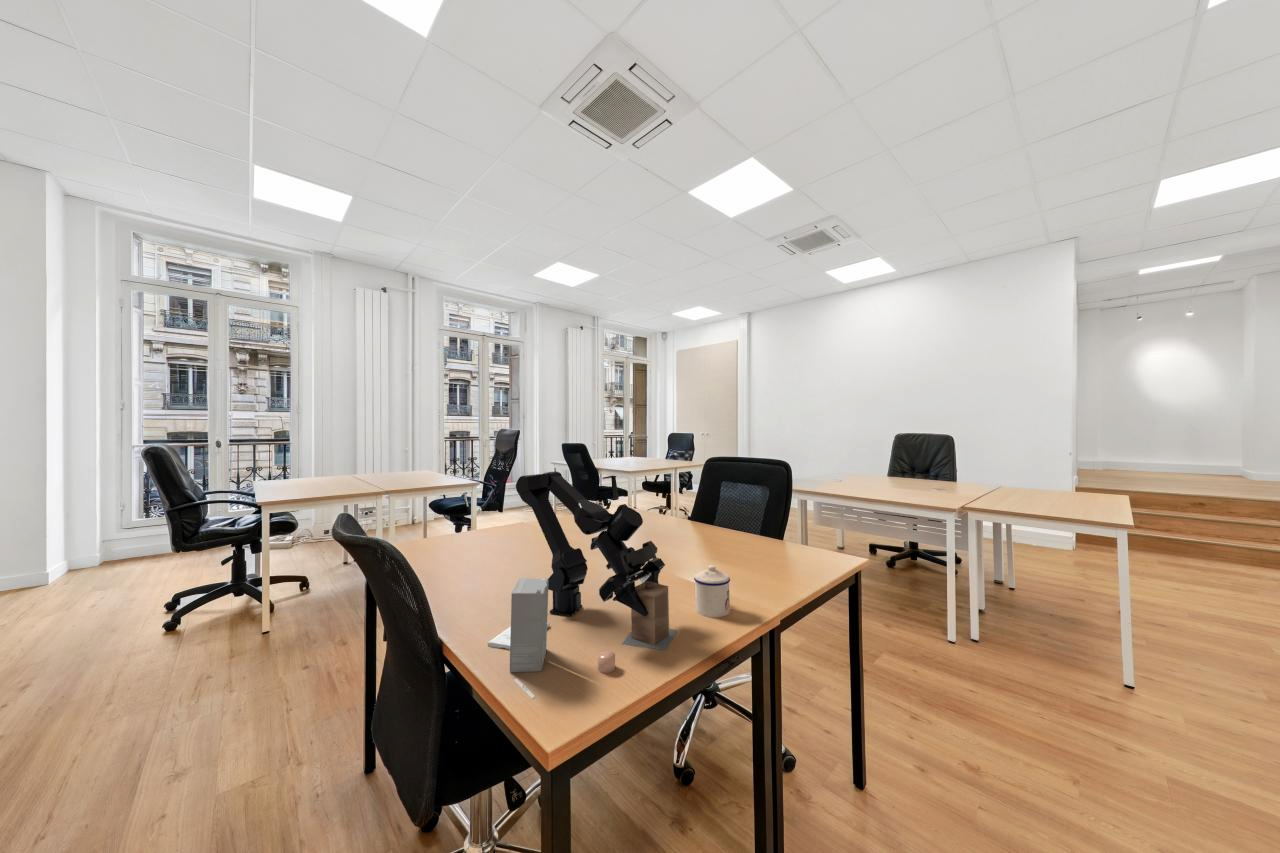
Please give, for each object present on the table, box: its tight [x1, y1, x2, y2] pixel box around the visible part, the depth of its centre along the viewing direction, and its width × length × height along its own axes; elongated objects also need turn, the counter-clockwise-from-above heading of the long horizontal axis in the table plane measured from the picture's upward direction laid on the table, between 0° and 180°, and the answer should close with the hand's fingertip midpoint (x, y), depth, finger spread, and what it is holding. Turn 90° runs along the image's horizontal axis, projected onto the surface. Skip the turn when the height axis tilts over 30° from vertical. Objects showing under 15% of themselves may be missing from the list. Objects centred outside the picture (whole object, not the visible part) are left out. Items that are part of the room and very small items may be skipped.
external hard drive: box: [487, 621, 551, 651], centre depth 100 cm, size 2×8×12 cm
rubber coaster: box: [621, 628, 679, 652], centre depth 97 cm, size 10×10×1 cm
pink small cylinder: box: [597, 650, 616, 674], centre depth 84 cm, size 3×3×3 cm
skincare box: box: [509, 577, 549, 673], centre depth 88 cm, size 8×7×16 cm
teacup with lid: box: [693, 564, 731, 619], centre depth 112 cm, size 12×9×12 cm
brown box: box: [630, 581, 670, 646], centre depth 97 cm, size 6×6×12 cm
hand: (655, 610), depth 96 cm, fingers closed on brown box, 6 cm apart
